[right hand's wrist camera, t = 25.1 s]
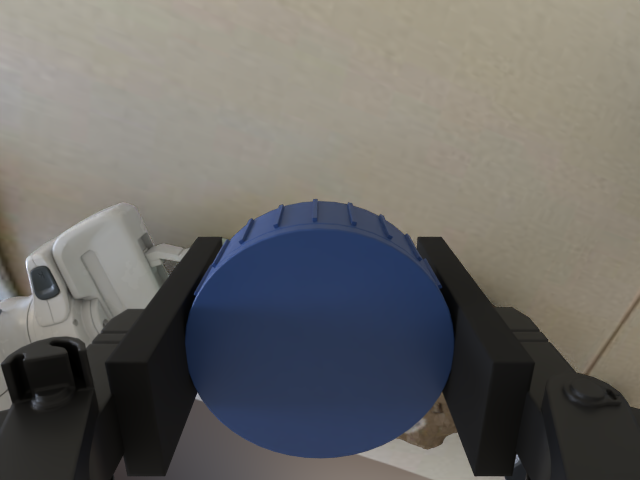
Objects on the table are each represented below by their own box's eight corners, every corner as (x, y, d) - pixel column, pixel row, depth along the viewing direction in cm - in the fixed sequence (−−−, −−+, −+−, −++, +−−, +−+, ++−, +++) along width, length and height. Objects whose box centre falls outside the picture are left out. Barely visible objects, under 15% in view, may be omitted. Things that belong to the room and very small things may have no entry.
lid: (269, 151, 11) (258, 168, 9) (482, 269, 12) (516, 309, 10) (168, 346, 13) (139, 398, 11) (359, 432, 14) (365, 493, 12)
